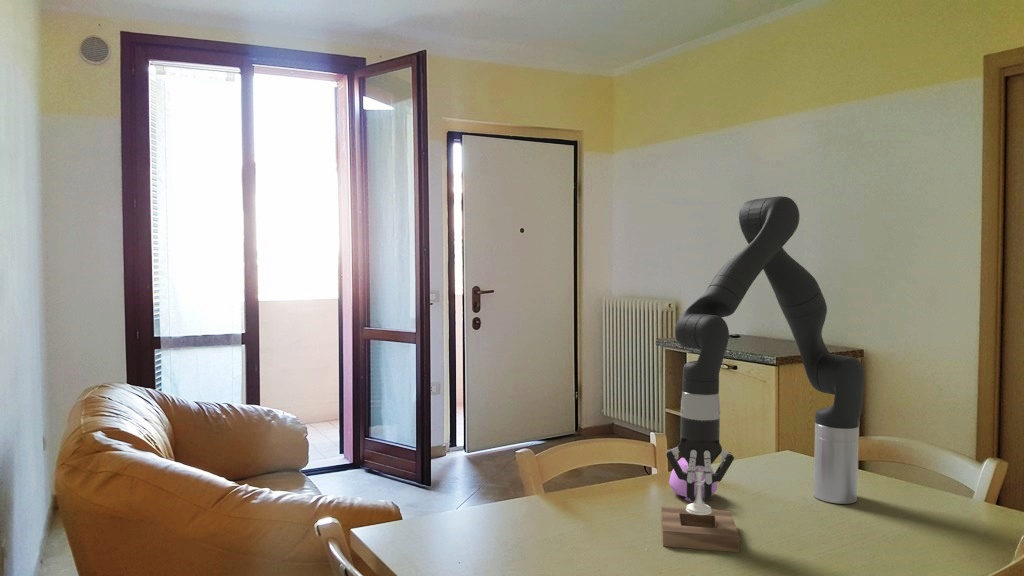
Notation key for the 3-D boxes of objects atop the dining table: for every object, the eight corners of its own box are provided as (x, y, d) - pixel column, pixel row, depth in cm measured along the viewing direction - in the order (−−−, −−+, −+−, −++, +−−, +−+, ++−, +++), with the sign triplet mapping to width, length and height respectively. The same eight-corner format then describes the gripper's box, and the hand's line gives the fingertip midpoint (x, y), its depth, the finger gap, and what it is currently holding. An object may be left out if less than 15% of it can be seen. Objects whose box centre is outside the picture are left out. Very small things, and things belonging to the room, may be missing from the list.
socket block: (661, 520, 152) (661, 506, 151) (730, 525, 149) (730, 511, 149) (663, 546, 138) (663, 530, 138) (738, 552, 135) (739, 536, 135)
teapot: (698, 486, 175) (699, 448, 175) (732, 506, 161) (733, 465, 161) (659, 489, 173) (660, 450, 172) (690, 510, 158) (691, 468, 158)
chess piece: (712, 516, 140) (713, 465, 140) (686, 514, 141) (687, 463, 141) (710, 507, 145) (711, 458, 145) (685, 505, 146) (686, 457, 146)
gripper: (734, 412, 145) (732, 497, 146) (664, 409, 148) (662, 492, 148) (738, 420, 138) (737, 509, 138) (665, 416, 140) (663, 504, 141)
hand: (698, 500), depth 143 cm, fingers closed on chess piece
